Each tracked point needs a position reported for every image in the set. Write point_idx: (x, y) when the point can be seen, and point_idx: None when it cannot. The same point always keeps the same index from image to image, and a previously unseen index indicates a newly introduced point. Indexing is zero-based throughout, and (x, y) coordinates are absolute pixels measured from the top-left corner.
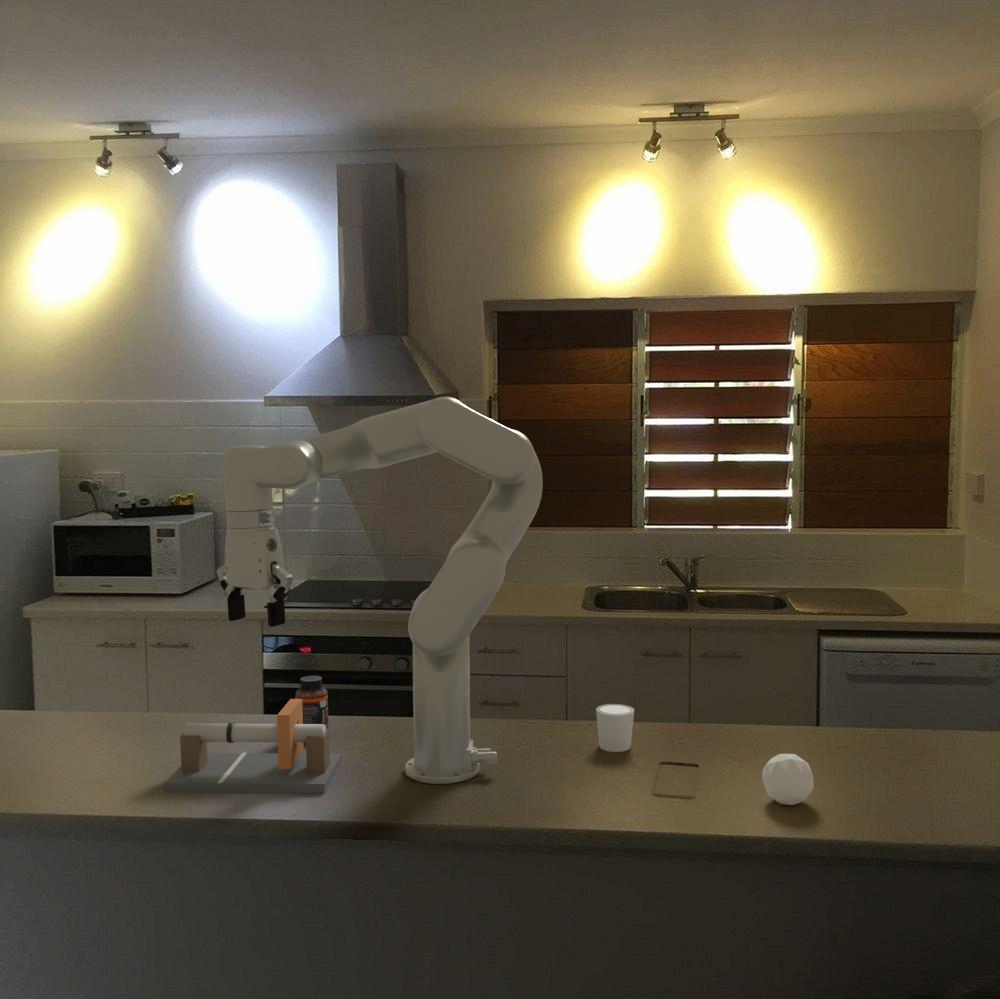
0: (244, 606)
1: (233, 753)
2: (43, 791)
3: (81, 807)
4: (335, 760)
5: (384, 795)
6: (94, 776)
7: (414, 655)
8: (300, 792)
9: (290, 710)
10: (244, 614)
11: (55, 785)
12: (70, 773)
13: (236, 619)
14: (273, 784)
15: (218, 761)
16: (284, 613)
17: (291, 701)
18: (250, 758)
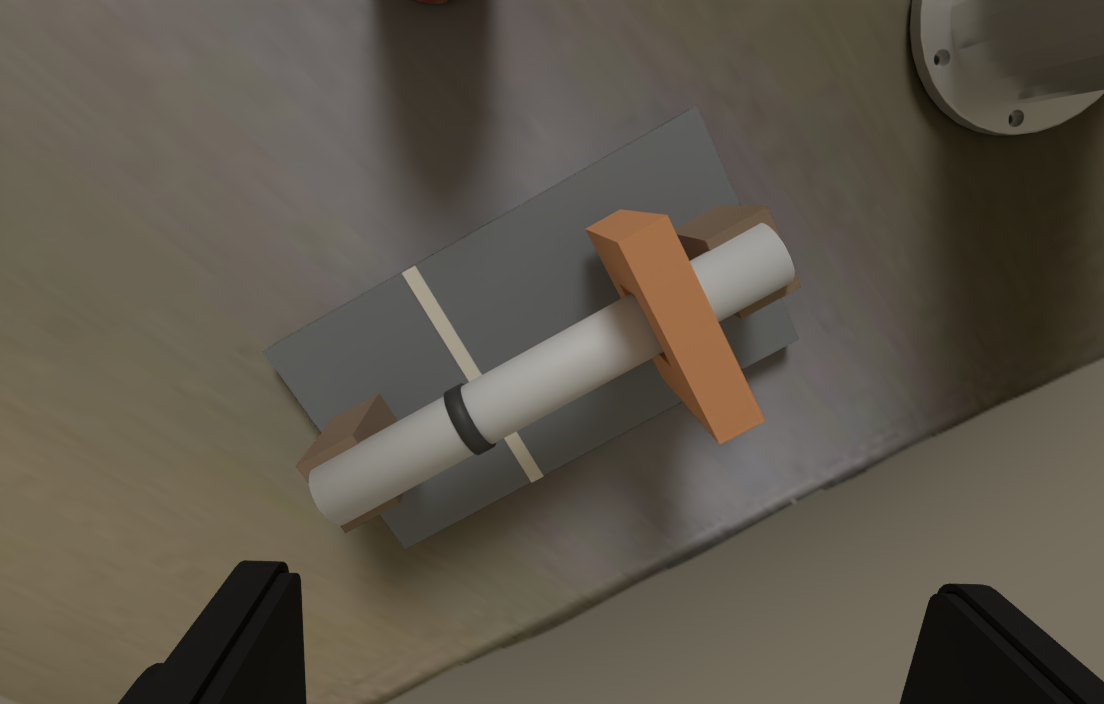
0: (237, 683)
1: (379, 290)
2: None
3: (321, 686)
4: (717, 169)
5: (940, 262)
6: (144, 564)
7: None
8: None
9: (729, 372)
10: (284, 601)
11: (124, 648)
12: (65, 584)
13: (304, 684)
14: (669, 406)
15: (397, 366)
16: (1078, 668)
17: (648, 272)
18: (464, 296)
